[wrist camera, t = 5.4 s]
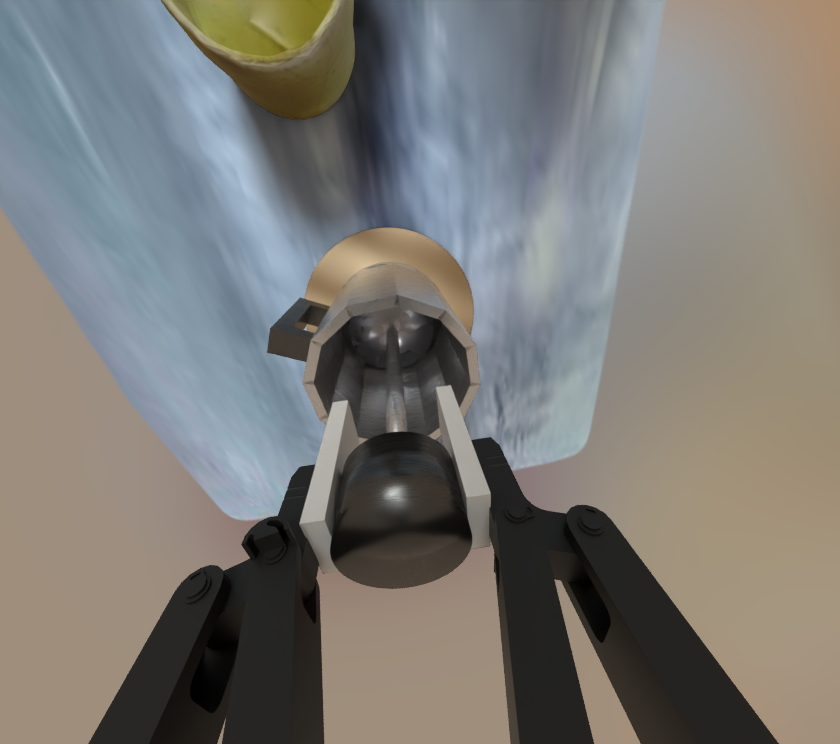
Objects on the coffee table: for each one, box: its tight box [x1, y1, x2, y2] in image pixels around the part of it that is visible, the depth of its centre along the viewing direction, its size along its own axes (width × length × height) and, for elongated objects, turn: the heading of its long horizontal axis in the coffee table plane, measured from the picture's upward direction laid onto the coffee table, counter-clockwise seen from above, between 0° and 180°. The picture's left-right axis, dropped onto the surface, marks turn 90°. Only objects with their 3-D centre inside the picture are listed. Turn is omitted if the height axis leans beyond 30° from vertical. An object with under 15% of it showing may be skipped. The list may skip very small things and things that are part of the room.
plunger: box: [330, 307, 472, 589], centre depth 18 cm, size 7×7×20 cm
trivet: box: [305, 228, 474, 335], centre depth 29 cm, size 16×16×1 cm
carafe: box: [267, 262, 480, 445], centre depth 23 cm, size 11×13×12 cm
